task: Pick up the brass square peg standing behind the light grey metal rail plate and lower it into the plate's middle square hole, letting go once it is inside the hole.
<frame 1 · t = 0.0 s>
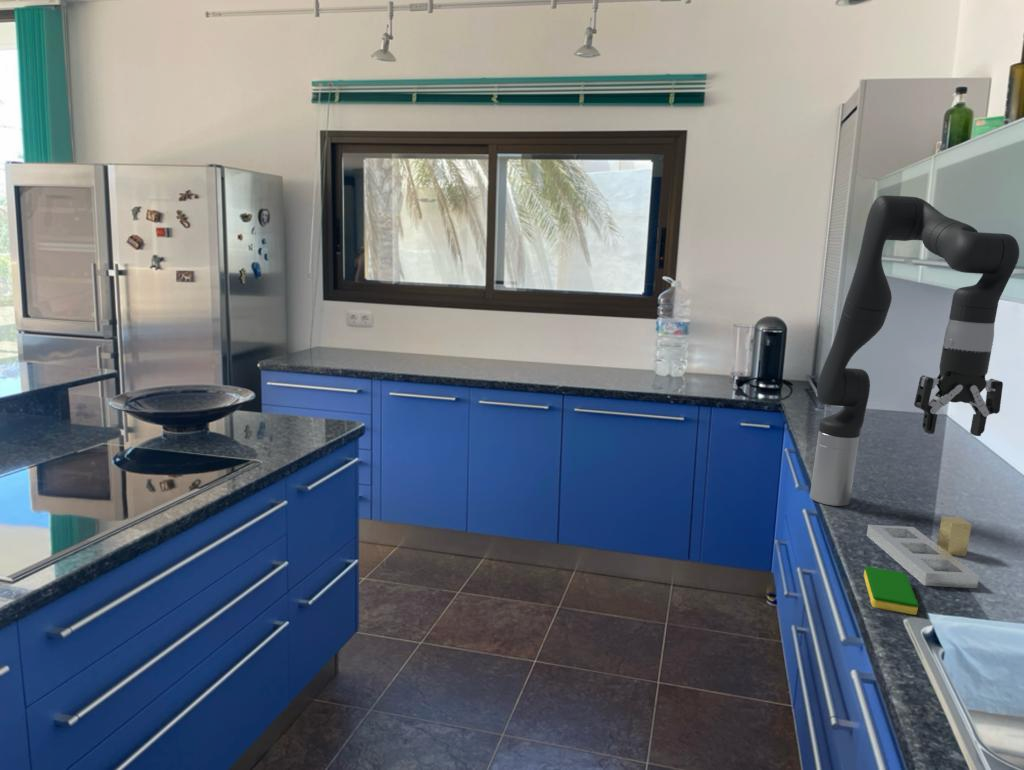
hand: (951, 434, 139), 29 cm above the worktop, tool pointing down, fingers open, 8 cm apart
rail plate: (917, 559, 155), on the worktop
dish sponge: (888, 597, 139), on the worktop
brass peg: (951, 551, 161), on the worktop
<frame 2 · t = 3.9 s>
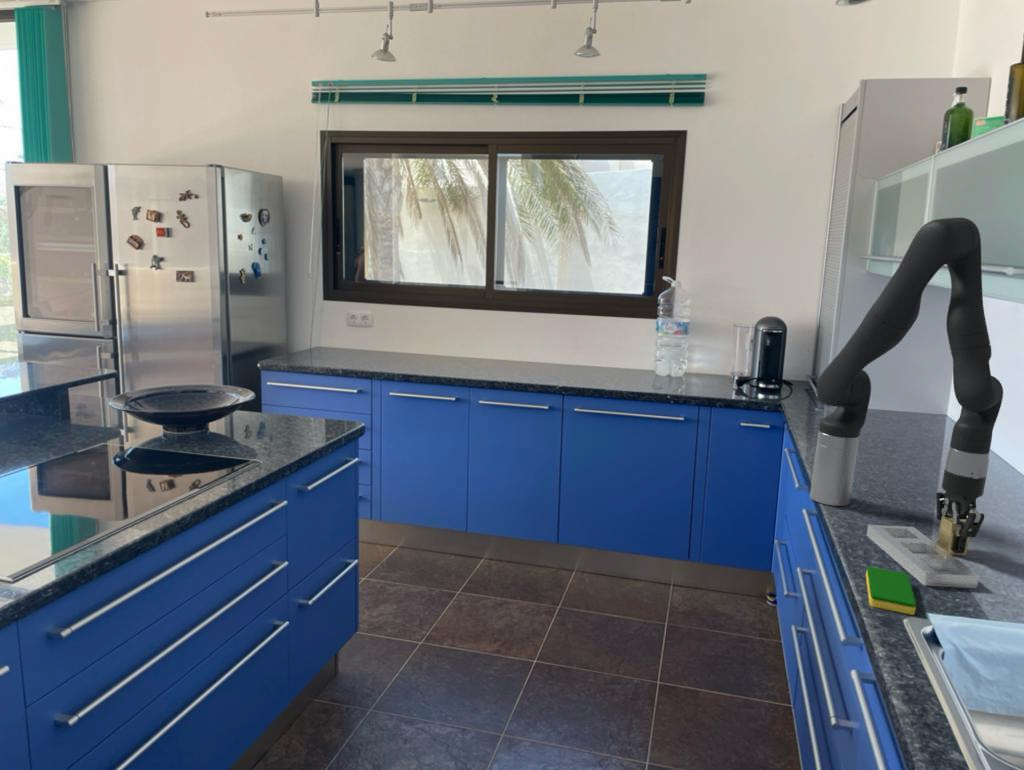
hand: (951, 547, 160), 1 cm above the worktop, tool pointing down, fingers closed on brass peg, 4 cm apart
brass peg: (951, 551, 161), on the worktop, touching gripper
everything else where it was.
when the fingers open (3 cm above the worktop, at t = 9.7 s): brass peg drops 2 cm, resting in rail plate.
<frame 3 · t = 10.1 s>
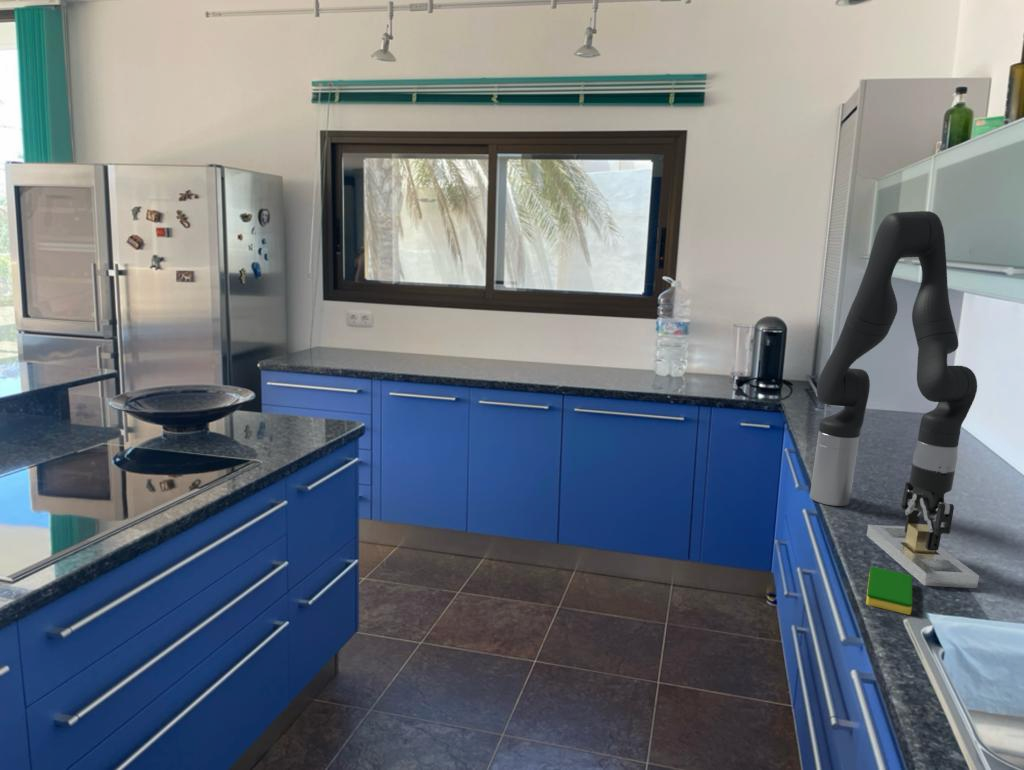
hand: (920, 541, 154), 4 cm above the worktop, tool pointing down, fingers open, 8 cm apart
brass peg: (917, 559, 155), resting in rail plate
everything else where it was.
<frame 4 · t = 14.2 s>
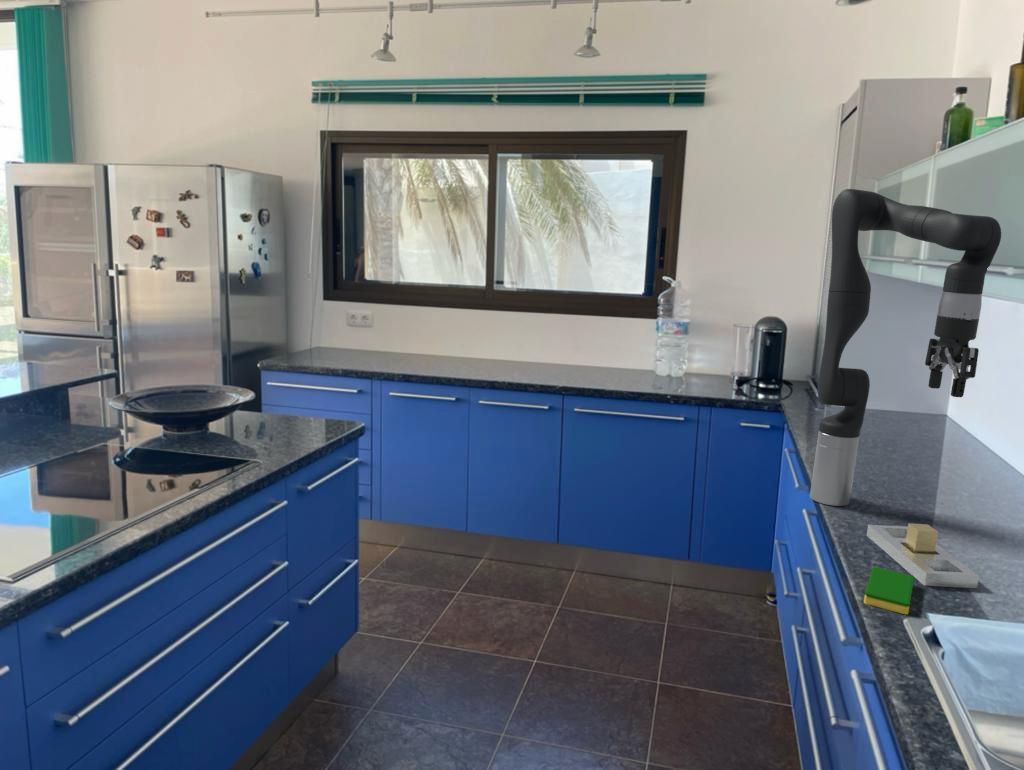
hand: (945, 392, 159), 33 cm above the worktop, tool pointing down, fingers open, 8 cm apart
nothing on the worktop moved.
at the end: brass peg 0.0 cm off-centre on the rail plate, point 0.0 cm above the rail plate's base; brass peg tilted 0°; the gripper is holding nothing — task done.
